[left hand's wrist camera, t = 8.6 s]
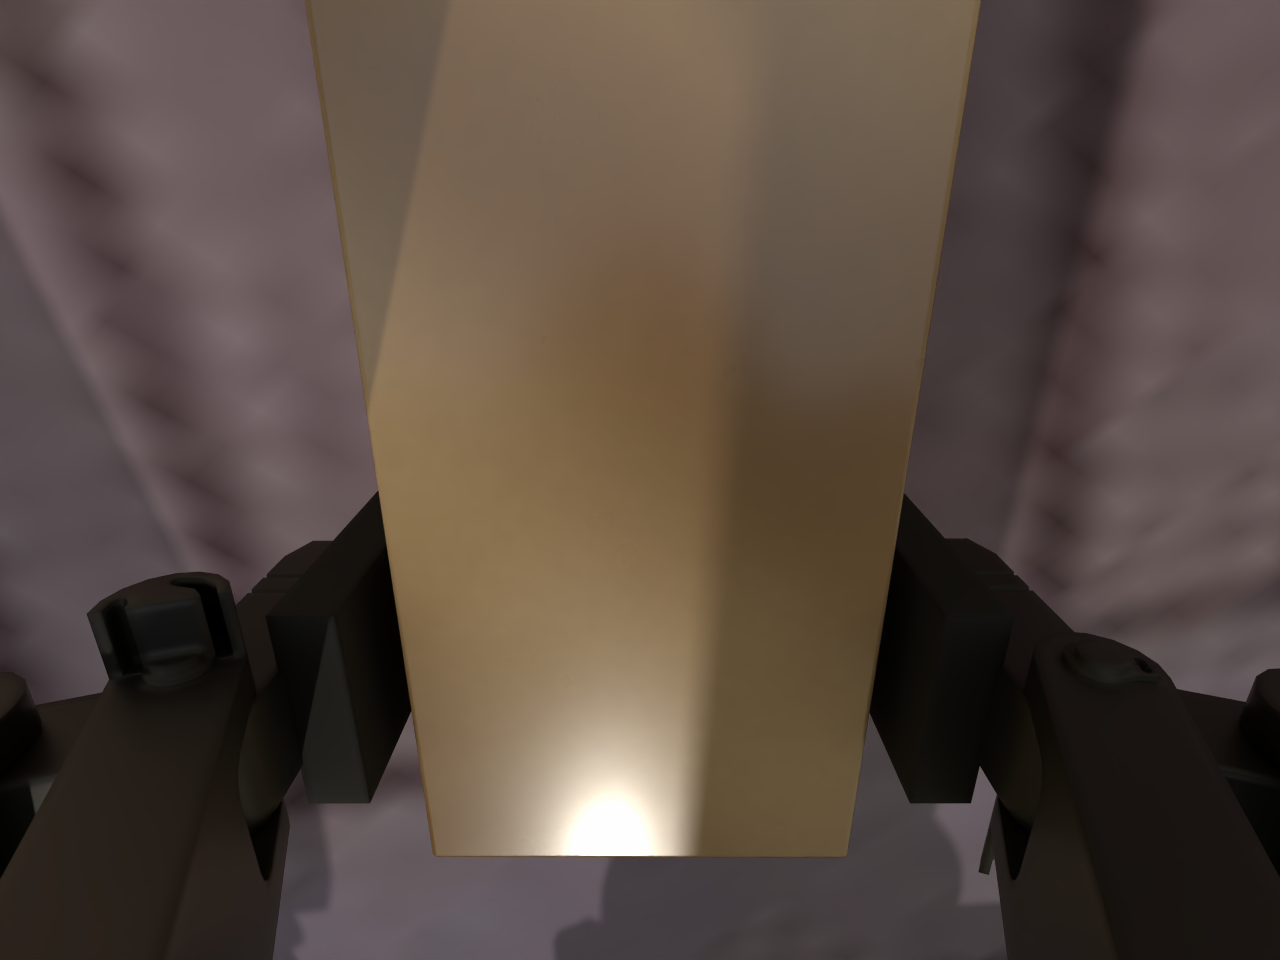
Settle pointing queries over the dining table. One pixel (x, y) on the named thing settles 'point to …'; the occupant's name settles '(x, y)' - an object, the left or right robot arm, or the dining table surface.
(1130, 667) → the left robot arm
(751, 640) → the brass rectangular prism
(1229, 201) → the dining table surface
